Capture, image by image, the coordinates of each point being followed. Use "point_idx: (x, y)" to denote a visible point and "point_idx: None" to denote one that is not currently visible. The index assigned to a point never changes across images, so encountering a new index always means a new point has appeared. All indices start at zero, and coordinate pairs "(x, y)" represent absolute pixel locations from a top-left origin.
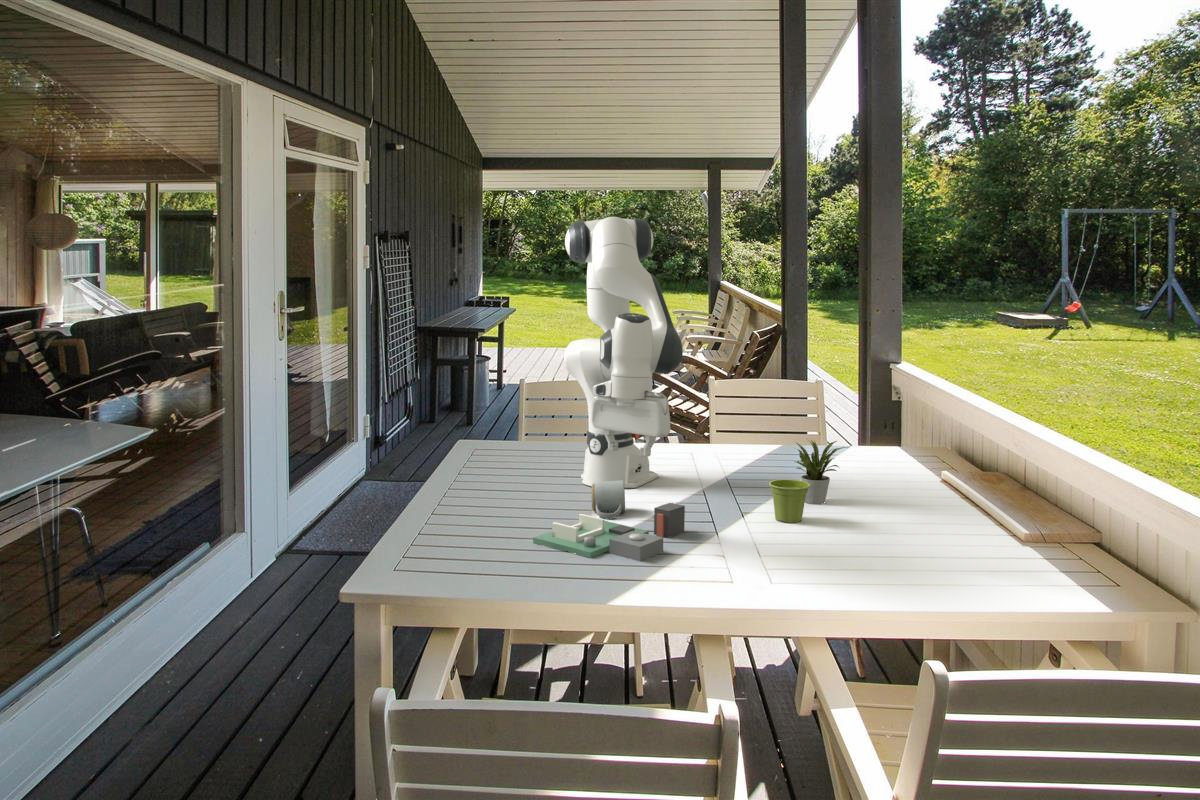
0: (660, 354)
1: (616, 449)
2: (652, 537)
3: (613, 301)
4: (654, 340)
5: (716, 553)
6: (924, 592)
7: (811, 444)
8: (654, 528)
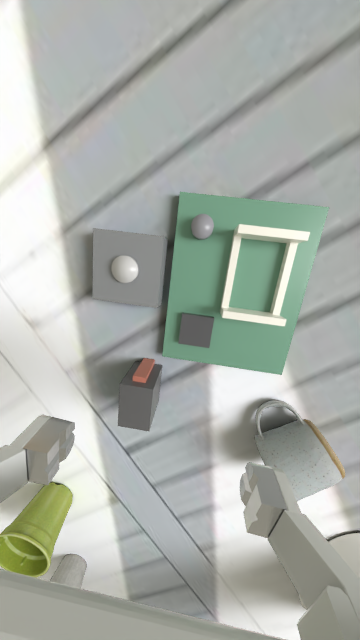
0: None
1: (243, 482)
2: (108, 291)
3: None
4: None
5: (43, 330)
6: None
7: None
8: (159, 369)
